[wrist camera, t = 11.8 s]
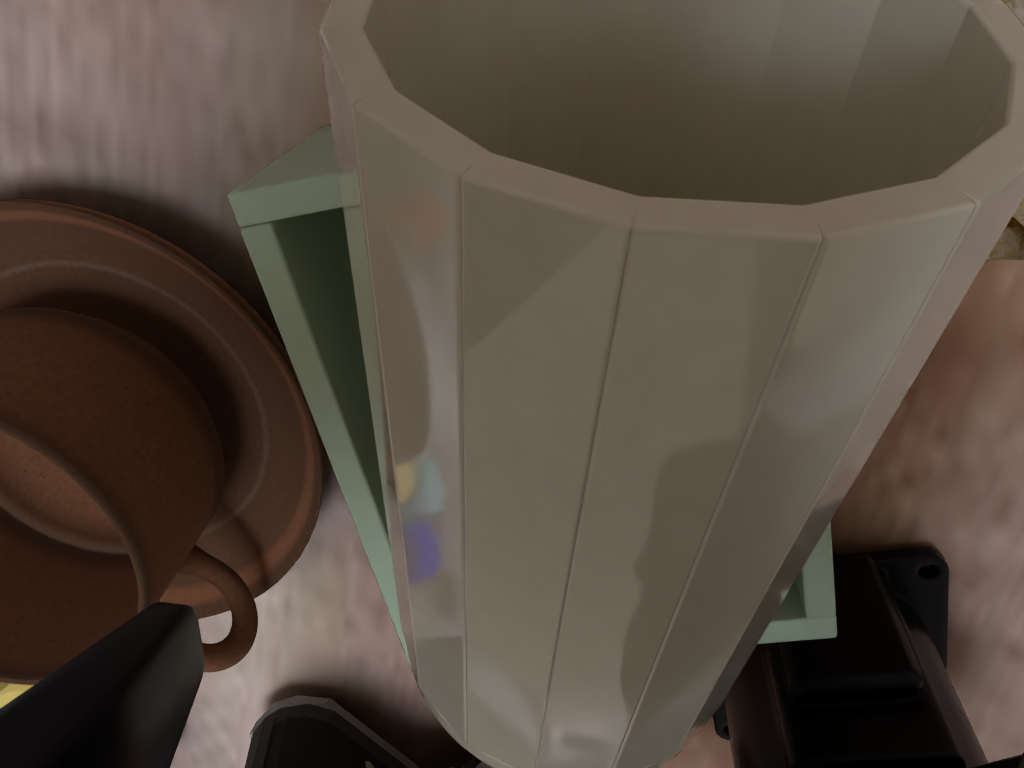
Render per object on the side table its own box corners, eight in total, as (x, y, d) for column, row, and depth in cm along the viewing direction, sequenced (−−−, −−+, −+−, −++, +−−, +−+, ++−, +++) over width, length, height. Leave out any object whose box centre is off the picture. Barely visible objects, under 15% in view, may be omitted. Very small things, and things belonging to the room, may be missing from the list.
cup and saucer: (415, 323, 20) (344, 471, 15) (263, 632, 26) (172, 820, 20) (-79, 80, 18) (-365, 146, 13) (-124, 468, 24) (-336, 625, 19)
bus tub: (790, 490, 21) (837, 638, 17) (449, 530, 23) (411, 674, 19) (751, 31, 16) (804, 72, 12) (318, 127, 18) (224, 194, 14)
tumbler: (791, 718, 16) (1245, 143, 7) (463, 847, 14) (451, 321, 5) (640, 455, 20) (788, -130, 11) (371, 532, 18) (267, -83, 9)
